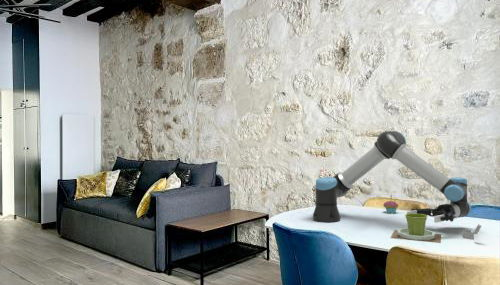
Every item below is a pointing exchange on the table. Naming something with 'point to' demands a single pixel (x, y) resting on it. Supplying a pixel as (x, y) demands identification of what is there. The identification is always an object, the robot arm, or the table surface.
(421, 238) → the saucer
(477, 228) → the lighter
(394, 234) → the walnut board
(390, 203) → the cupcake
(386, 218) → the table surface
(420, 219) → the plant pot
